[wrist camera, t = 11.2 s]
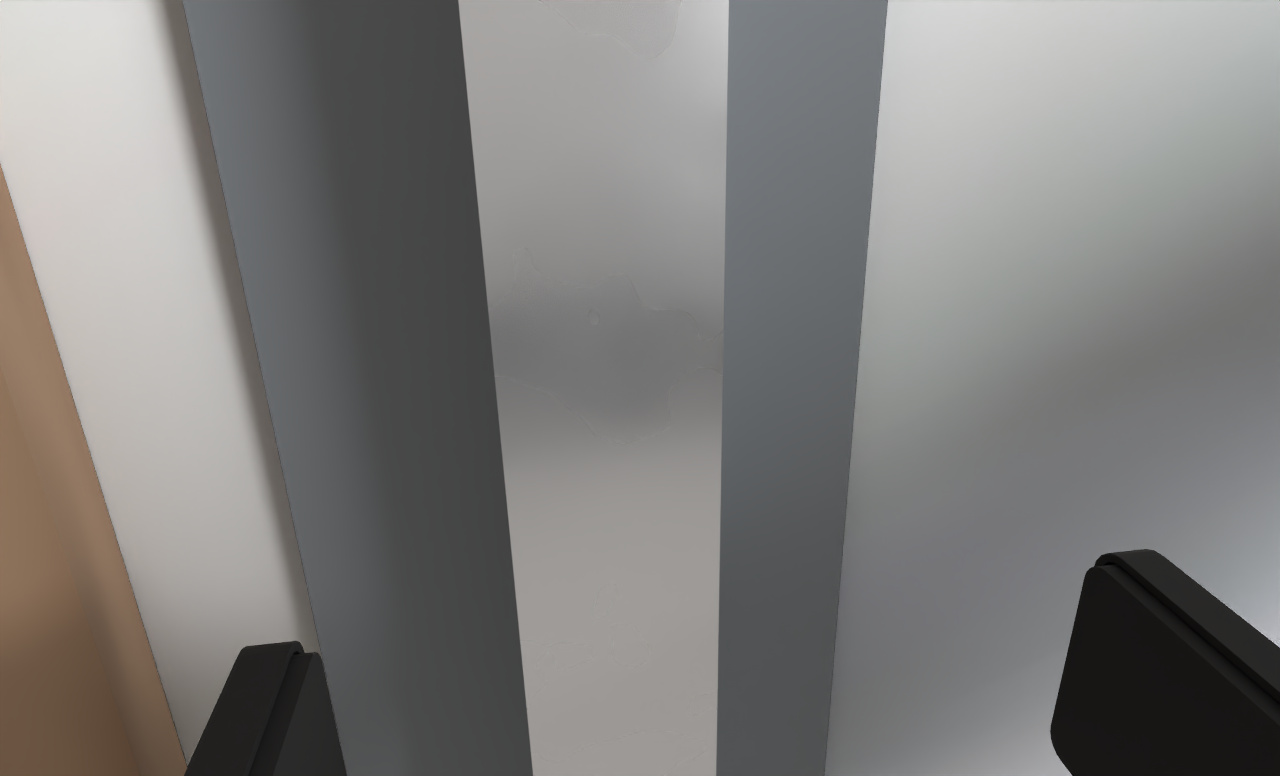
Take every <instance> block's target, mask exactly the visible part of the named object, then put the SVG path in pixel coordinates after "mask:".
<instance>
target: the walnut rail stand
mask: <svg viewBox="0 0 1280 776" xmlns="http://www.w3.org/2000/svg"><path fill="white" fill-rule="evenodd" d="M186 770H187V765H186V762H185V758H184V755H183V752H182V749H181V745H180V742H179V739H178V736H177V732H176V729H175V726H174V723H173V720H172V716H171V713H170V710H169V707H168V703H167V700H166V697H165V694H164V691H163V687H162V684H161V681H160V678H159V674H158V671H157V668H156V665H155V662H154V658H153V655H152V652H151V649H150V645H149V642H148V639H147V636H146V632H145V629H144V626H143V623H142V620H141V616H140V613H139V610H138V607H137V603H136V600H135V597H134V594H133V591H132V587H131V584H130V581H129V578H128V574H127V571H126V568H125V565H124V561H123V558H122V555H121V552H120V549H119V545H118V542H117V539H116V536H115V532H114V529H113V526H112V523H111V520H110V516H109V513H108V510H107V507H106V503H105V500H104V497H103V494H102V491H101V487H100V484H99V481H98V478H97V474H96V471H95V468H94V465H93V461H92V458H91V455H90V452H89V449H88V445H87V442H86V439H85V436H84V432H83V429H82V426H81V423H80V420H79V416H78V413H77V410H76V407H75V403H74V400H73V397H72V394H71V390H70V387H69V384H68V381H67V378H66V374H65V371H64V368H63V365H62V361H61V358H60V355H59V352H58V349H57V345H56V342H55V339H54V336H53V332H52V329H51V326H50V323H49V320H48V316H47V313H46V310H45V307H44V303H43V300H42V297H41V294H40V290H39V287H38V284H37V281H36V278H35V274H34V271H33V268H32V265H31V261H30V258H29V255H28V252H27V249H26V245H25V242H24V239H23V236H22V232H21V229H20V226H19V223H18V220H17V216H16V213H15V210H14V207H13V203H12V200H11V197H10V194H9V190H8V187H7V184H6V181H5V178H4V174H3V171H2V168H1V165H0V776H184V774H185V772H186Z"/></svg>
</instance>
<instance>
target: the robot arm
mask: <svg viewBox="0 0 1280 776" xmlns="http://www.w3.org/2000/svg"><path fill="white" fill-rule="evenodd" d="M1050 732H1051V740H1052V743H1053V747H1054V749H1055V751H1056V754H1057V755H1058V757H1059V758H1060V760H1061V761H1062V763H1063V764H1064V765H1065V767H1066V768H1067V769H1068V770H1069V772H1070V773H1071V774H1072V776H1280V648H1279V647H1278V646H1277V645H1275V644H1274V643H1273V642H1272V641H1270V640H1269V639H1268V638H1267V637H1265V636H1264V635H1263V634H1261V633H1260V632H1259V631H1258V630H1256V629H1255V628H1254V627H1253V626H1251V625H1250V624H1249V623H1247V622H1246V621H1245V620H1244V619H1242V618H1241V617H1240V616H1239V615H1237V614H1236V613H1235V612H1234V611H1232V610H1231V609H1230V608H1228V607H1227V606H1226V605H1225V604H1223V603H1222V602H1221V601H1220V600H1218V599H1217V598H1216V597H1214V596H1213V595H1212V594H1211V593H1209V592H1208V591H1207V590H1206V589H1204V588H1203V587H1202V586H1200V585H1199V584H1198V583H1197V582H1195V581H1194V580H1193V579H1192V578H1190V577H1189V576H1188V575H1187V574H1185V573H1184V572H1183V571H1181V570H1180V569H1179V568H1178V567H1176V566H1175V565H1174V564H1173V563H1171V562H1170V561H1169V560H1167V559H1166V558H1165V557H1164V556H1162V555H1161V554H1159V553H1157V552H1156V551H1154V550H1148V549H1144V550H1134V551H1125V552H1116V553H1107V554H1104V555H1101V556H1100V557H1099V558H1098V559H1097V561H1096V563H1095V566H1094V567H1092V568H1090V569H1089V570H1088V571H1087V573H1086V575H1085V578H1084V582H1083V587H1082V591H1081V595H1080V600H1079V604H1078V609H1077V613H1076V617H1075V622H1074V626H1073V631H1072V635H1071V639H1070V644H1069V648H1068V653H1067V657H1066V661H1065V666H1064V670H1063V674H1062V679H1061V683H1060V688H1059V692H1058V696H1057V701H1056V705H1055V710H1054V714H1053V718H1052V723H1051V730H1050ZM184 776H347V774H346V769H345V765H344V760H343V755H342V751H341V746H340V742H339V737H338V733H337V728H336V723H335V719H334V714H333V710H332V705H331V701H330V696H329V691H328V687H327V682H326V678H325V673H324V668H323V664H322V660H321V657H320V655H319V654H318V653H316V652H314V653H304V650H303V647H302V645H301V644H300V642H297V641H292V642H283V643H273V644H264V645H255V646H246V647H245V648H243V649H242V650H241V652H240V653H239V655H238V657H237V659H236V661H235V663H234V665H233V668H232V670H231V672H230V674H229V677H228V679H227V681H226V683H225V685H224V688H223V690H222V692H221V694H220V697H219V699H218V701H217V703H216V705H215V708H214V710H213V712H212V714H211V716H210V719H209V721H208V723H207V725H206V728H205V730H204V732H203V734H202V736H201V739H200V741H199V743H198V745H197V748H196V750H195V752H194V754H193V756H192V759H191V761H190V763H189V765H188V768H187V770H186V772H185V774H184Z"/></svg>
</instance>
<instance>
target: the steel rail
mask: <svg viewBox="0 0 1280 776" xmlns="http://www.w3.org/2000/svg"><path fill="white" fill-rule="evenodd" d="M458 2H459V13H460V23H461V33H462V44H463V54H464V64H465V75H466V85H467V96H468V106H469V116H470V127H471V137H472V147H473V158H474V168H475V178H476V189H477V199H478V209H479V220H480V230H481V240H482V251H483V261H484V272H485V282H486V292H487V303H488V313H489V323H490V334H491V344H492V354H493V365H494V375H495V385H496V396H497V406H498V416H499V427H500V437H501V448H502V458H503V468H504V479H505V489H506V499H507V510H508V520H509V530H510V541H511V551H512V561H513V572H514V582H515V592H516V603H517V613H518V624H519V634H520V644H521V655H522V665H523V675H524V686H525V696H526V706H527V717H528V727H529V737H530V748H531V758H532V769H533V776H716V755H717V694H718V633H719V572H720V511H721V450H722V389H723V327H724V266H725V205H726V144H727V83H728V22H729V0H458Z"/></svg>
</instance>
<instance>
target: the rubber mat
mask: <svg viewBox="0 0 1280 776" xmlns="http://www.w3.org/2000/svg"><path fill="white" fill-rule="evenodd" d="M182 1H183V6H184V10H185V15H186V20H187V24H188V29H189V34H190V39H191V43H192V48H193V53H194V57H195V62H196V67H197V71H198V76H199V81H200V86H201V90H202V95H203V100H204V104H205V109H206V114H207V118H208V123H209V128H210V133H211V137H212V142H213V147H214V151H215V156H216V161H217V165H218V170H219V175H220V180H221V184H222V189H223V194H224V198H225V203H226V208H227V212H228V217H229V222H230V227H231V231H232V236H233V241H234V245H235V250H236V255H237V259H238V264H239V269H240V274H241V278H242V283H243V288H244V292H245V297H246V302H247V306H248V311H249V316H250V321H251V325H252V330H253V335H254V339H255V344H256V349H257V354H258V358H259V363H260V368H261V372H262V377H263V382H264V386H265V391H266V396H267V401H268V405H269V410H270V415H271V419H272V424H273V429H274V433H275V438H276V443H277V448H278V452H279V457H280V462H281V466H282V471H283V476H284V480H285V485H286V490H287V495H288V499H289V504H290V509H291V513H292V518H293V523H294V527H295V532H296V537H297V542H298V546H299V551H300V556H301V560H302V565H303V570H304V574H305V579H306V584H307V589H308V593H309V598H310V603H311V607H312V612H313V617H314V621H315V626H316V631H317V636H318V640H319V645H320V650H321V654H322V659H323V664H324V668H325V673H326V678H327V683H328V687H329V692H330V697H331V701H332V706H333V711H334V716H335V720H336V725H337V730H338V734H339V739H340V744H341V748H342V753H343V758H344V763H345V767H346V772H347V776H533V769H532V758H531V748H530V737H529V727H528V717H527V706H526V696H525V686H524V675H523V665H522V655H521V644H520V634H519V624H518V613H517V603H516V592H515V582H514V572H513V561H512V551H511V541H510V530H509V520H508V510H507V499H506V489H505V479H504V468H503V458H502V448H501V437H500V427H499V416H498V406H497V396H496V385H495V375H494V365H493V354H492V344H491V334H490V323H489V313H488V303H487V292H486V282H485V272H484V261H483V251H482V240H481V230H480V220H479V209H478V199H477V189H476V178H475V168H474V158H473V147H472V137H471V127H470V116H469V106H468V96H467V85H466V75H465V64H464V54H463V44H462V33H461V23H460V13H459V2H458V0H182ZM887 3H888V0H729V22H728V83H727V144H726V205H725V266H724V327H723V389H722V450H721V511H720V572H719V633H718V694H717V755H716V776H824V772H825V760H826V748H827V736H828V724H829V711H830V699H831V687H832V675H833V663H834V650H835V638H836V626H837V614H838V602H839V589H840V577H841V565H842V553H843V540H844V528H845V516H846V504H847V492H848V479H849V467H850V455H851V443H852V431H853V418H854V406H855V394H856V382H857V370H858V357H859V345H860V333H861V321H862V309H863V296H864V284H865V272H866V260H867V247H868V235H869V223H870V211H871V199H872V186H873V174H874V162H875V150H876V138H877V125H878V113H879V101H880V89H881V77H882V64H883V52H884V40H885V28H886V16H887Z"/></svg>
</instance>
